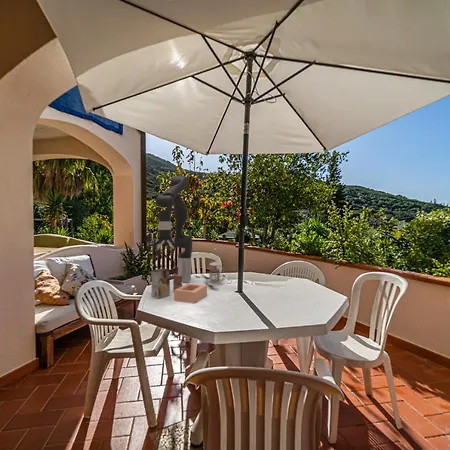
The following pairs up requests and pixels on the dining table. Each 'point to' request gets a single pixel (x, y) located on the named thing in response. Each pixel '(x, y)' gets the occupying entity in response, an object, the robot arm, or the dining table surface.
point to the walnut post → (177, 281)
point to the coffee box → (160, 282)
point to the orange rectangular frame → (190, 293)
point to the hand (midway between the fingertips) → (165, 255)
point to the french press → (215, 271)
